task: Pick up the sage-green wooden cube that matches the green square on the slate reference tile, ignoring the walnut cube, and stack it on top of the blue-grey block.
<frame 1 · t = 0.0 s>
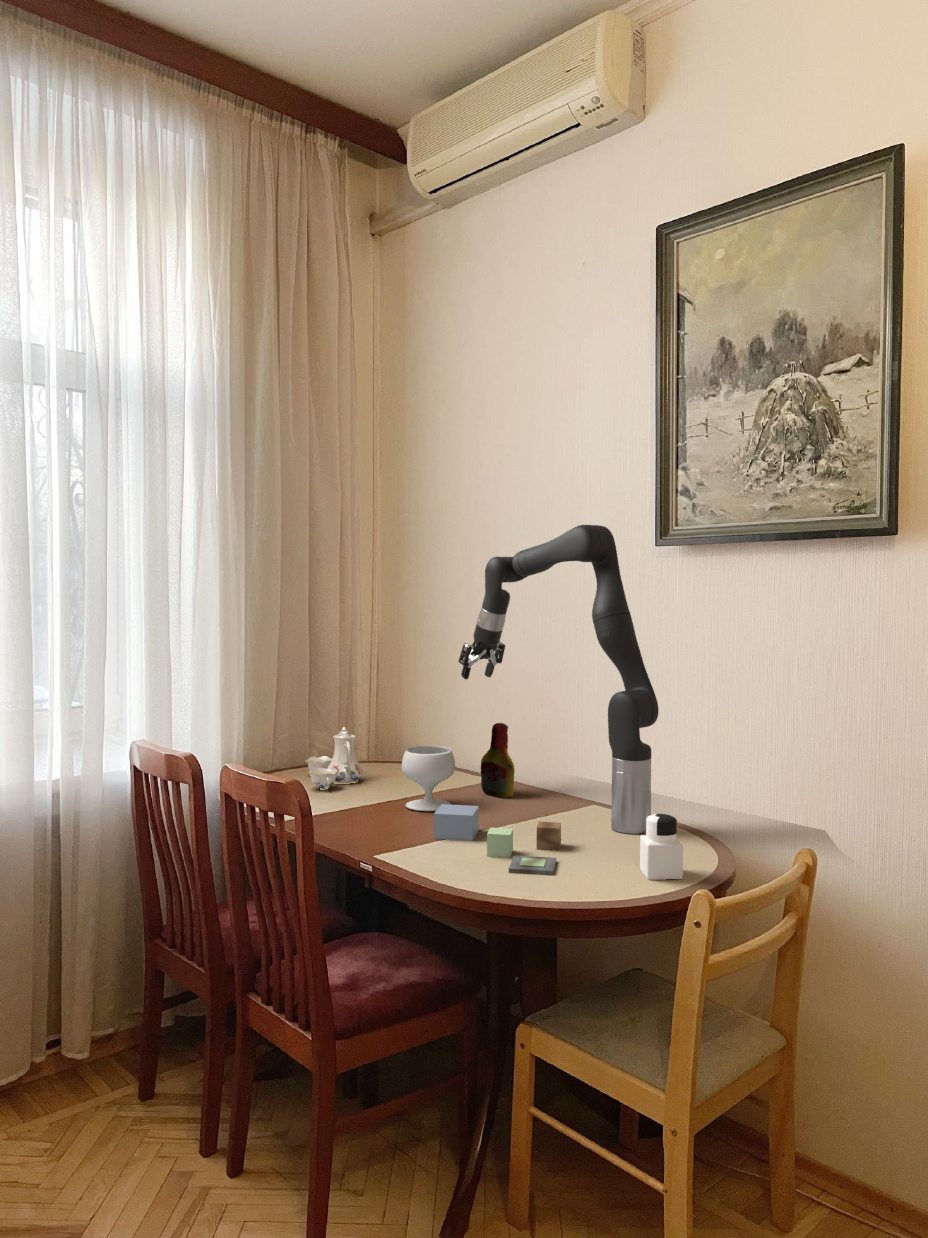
hand: (476, 677, 264), 31 cm above the table, tool tilted 20°, fingers open, 8 cm apart
chinaware: (333, 783, 272), on the table
sage cube: (500, 854, 203), on the table
chalice: (428, 807, 243), on the table
walnut cube: (548, 847, 208), on the table
base block: (456, 835, 218), on the table
medicine bottle: (660, 875, 189), on the table
bottle: (497, 796, 256), on the table
reference tile: (532, 866, 193), on the table
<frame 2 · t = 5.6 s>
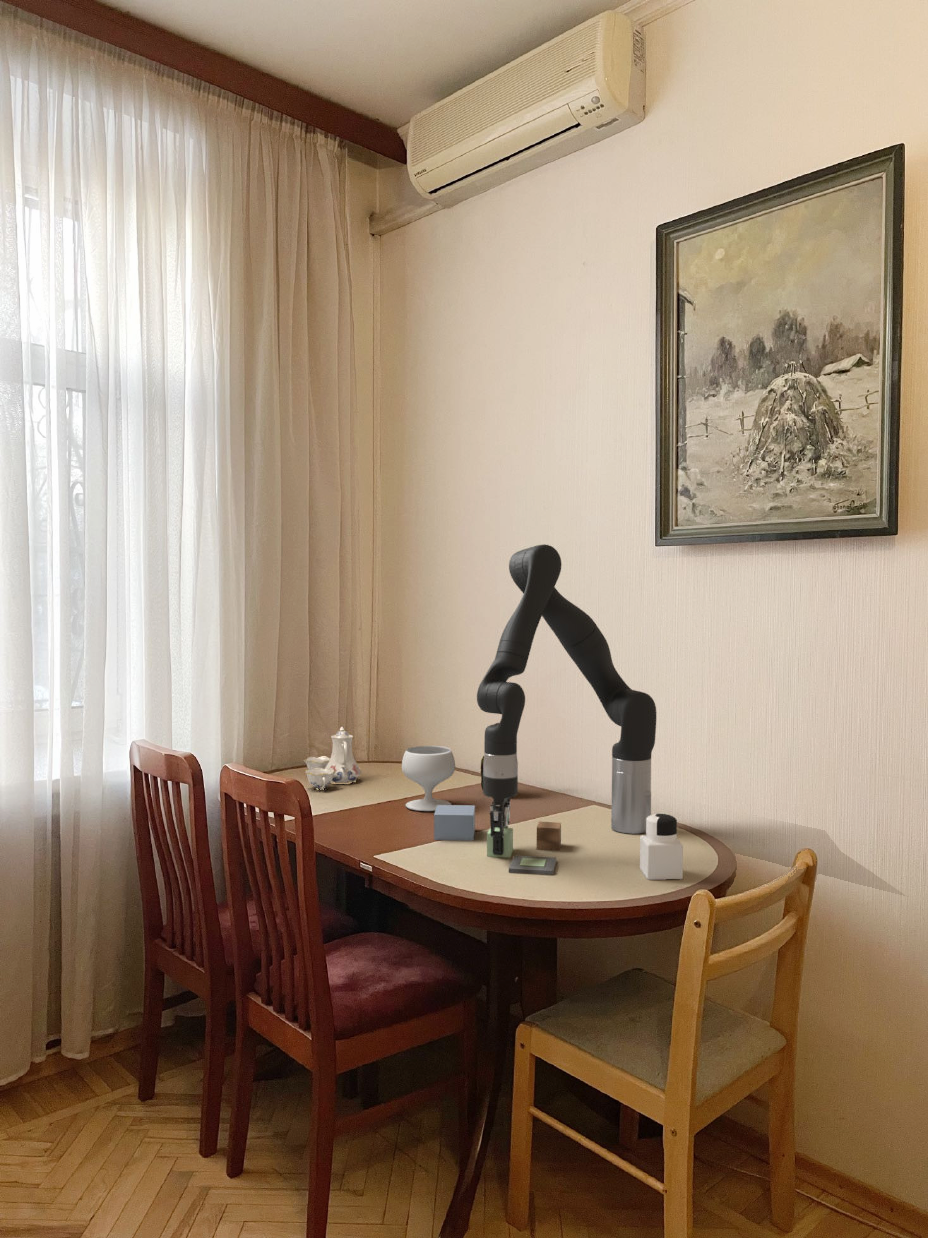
hand: (500, 850, 203), 1 cm above the table, tool pointing down, fingers closed on sage cube, 5 cm apart
sage cube: (500, 853, 203), on the table, touching gripper
when the fingers open (8 cm above the table, at t = 10.4 s): sage cube drops 1 cm, resting on base block.
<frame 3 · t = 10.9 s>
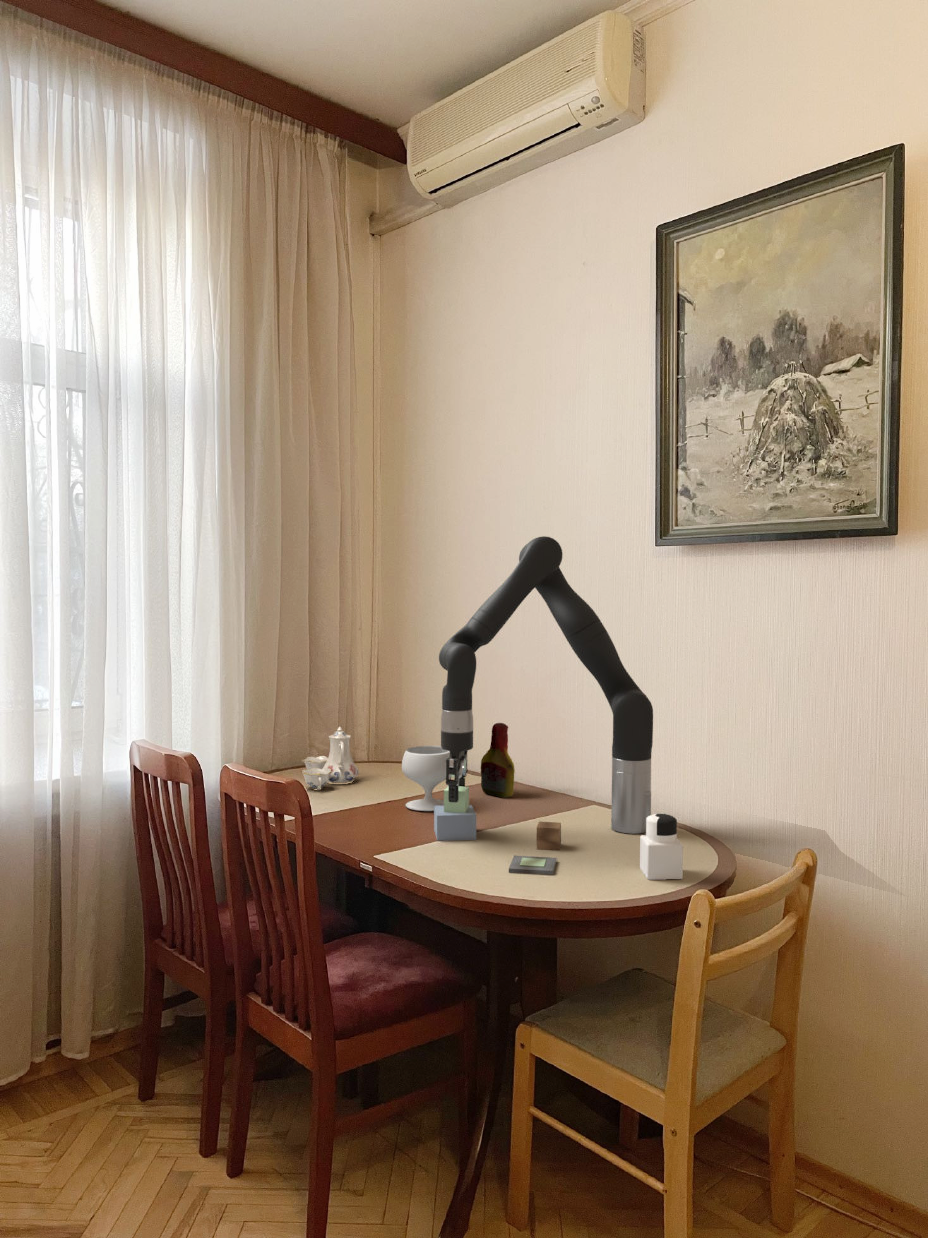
hand: (456, 797, 217), 9 cm above the table, tool pointing down, fingers open, 8 cm apart
sage cube: (456, 809, 217), point 6 cm above the table, touching base block
base block: (454, 835, 217), on the table, touching sage cube
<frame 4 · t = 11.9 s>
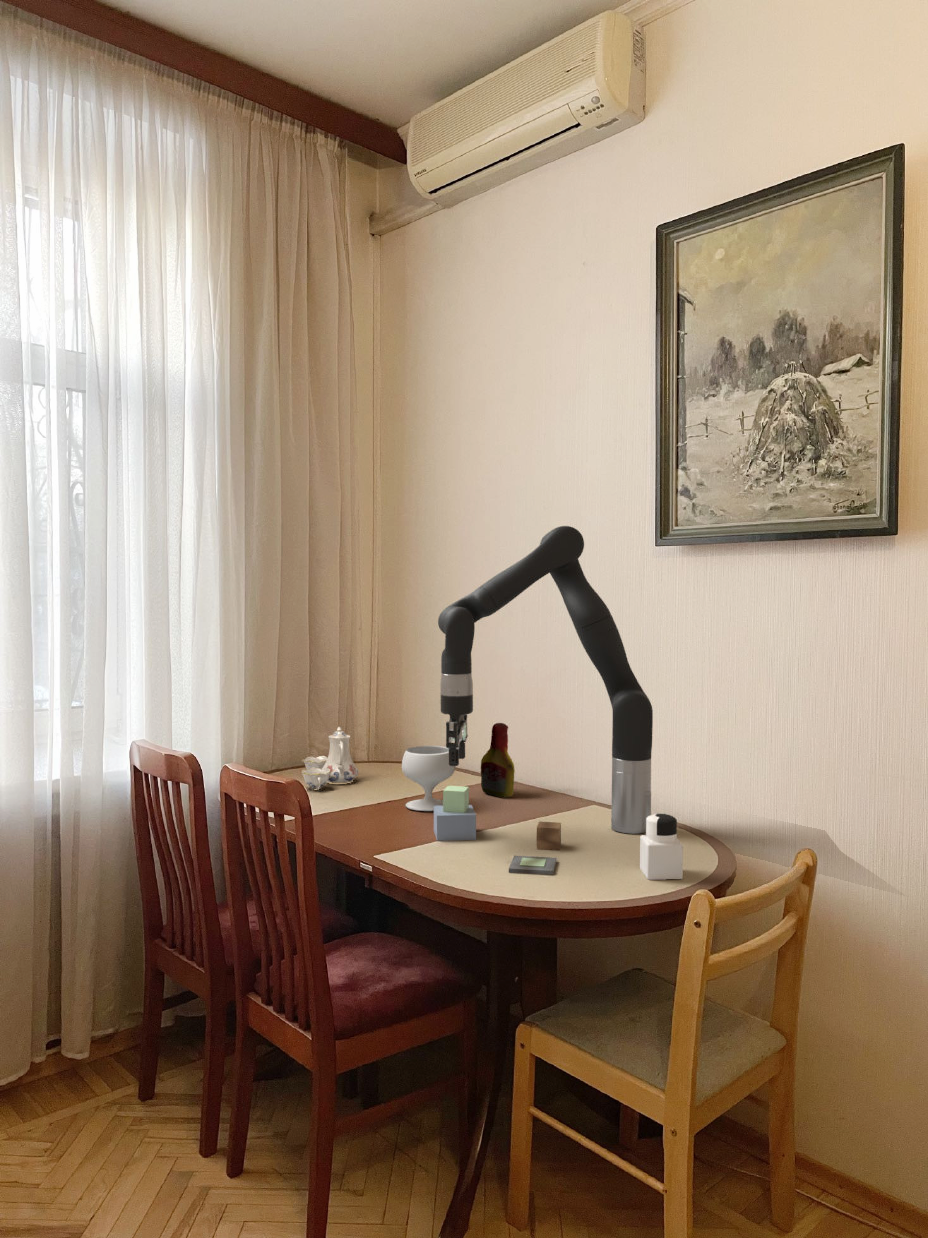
hand: (457, 762, 217), 17 cm above the table, tool pointing down, fingers open, 8 cm apart
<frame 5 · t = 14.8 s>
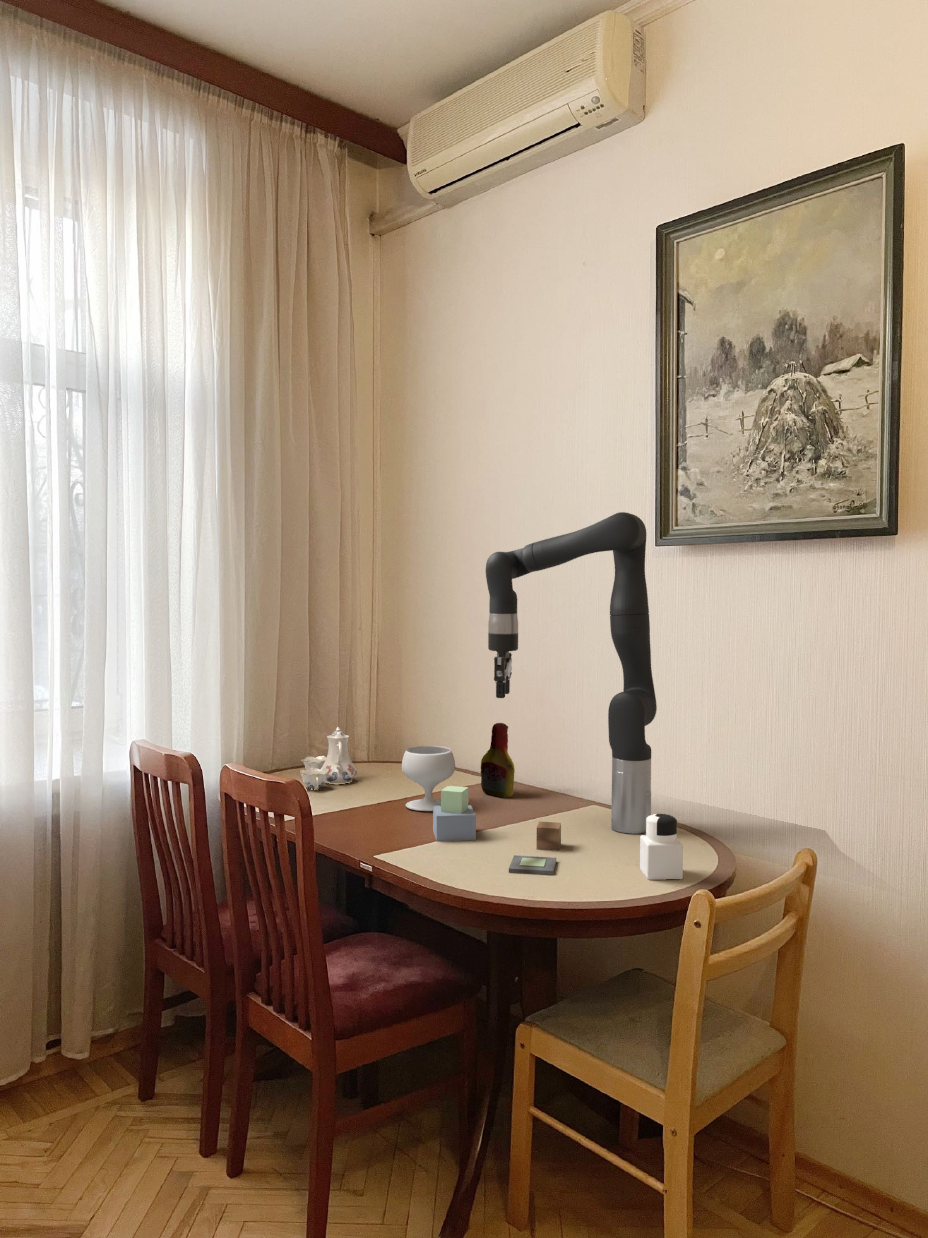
hand: (502, 695, 234), 30 cm above the table, tool pointing down, fingers open, 8 cm apart
sage cube: (454, 810, 217), point 6 cm above the table
base block: (454, 836, 217), on the table
at the end: sage cube 0.3 cm off-centre on the base block, point 6.0 cm above the base block's base; sage cube tilted 0°; the gripper is holding nothing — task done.
